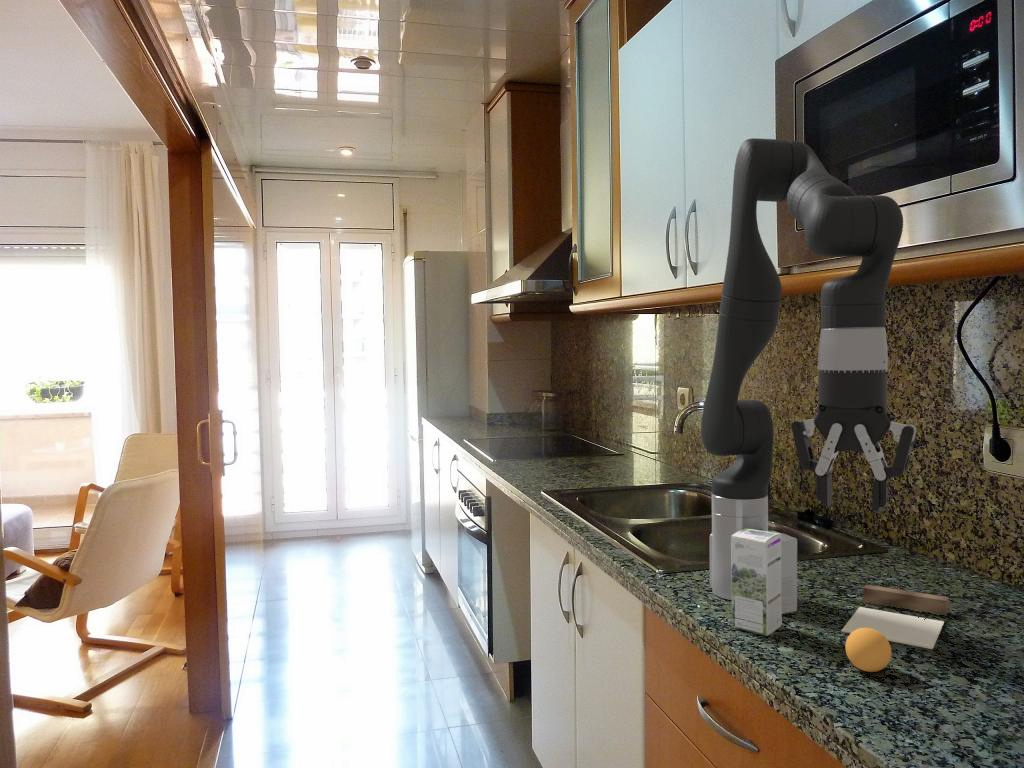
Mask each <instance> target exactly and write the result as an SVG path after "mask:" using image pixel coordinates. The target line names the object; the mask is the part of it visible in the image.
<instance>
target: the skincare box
mask: <svg viewBox="0 0 1024 768" xmlns="http://www.w3.org/2000/svg"><path fill="white" fill-rule="evenodd" d="M766 532H773V533H779V534H781V613H782V615H785V614H790V613H794V612H795V613H796V612H797V611H798V539H797V537H793V536H790V535H788V534H787V533H781V532H778V531H775V530H768V531H766Z"/></svg>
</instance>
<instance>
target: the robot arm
mask: <svg viewBox="0 0 1024 768" xmlns="http://www.w3.org/2000/svg"><path fill="white" fill-rule="evenodd" d="M733 172H734V173H733V184H732V196H731V197H732V198H731V200H732V201H731V212H730V213H731V214H730V215H731V216H730V217H731V218H730V229H729V230H730V231H729V242H728V248H727V249H728V250H727V255H726V256H727V257H726V265H725V270H724V271H725V272H724V277H723V284H722V290H721V297H720V302H719V303H720V305H719V312H718V313H719V314H718V323H717V324H718V326H717V331H716V332H717V333H716V342H715V347H714V355H713V362H712V366H711V367H712V368H711V372H710V378H709V382H708V385H707V386H708V387H707V391H706V395H705V400H704V404H703V408H702V409H703V410H702V414H701V421H700V435H701V440H702V441H701V442H702V444H703V446H704V449H705V450H706V452H708V453H709V454H710V455H712V456H718V457H720V456H721V457H723V456H724V457H726V456H727V457H728V456H729V457H730V456H735V460H734V462H733V463H732V464H731V465H730V466H729V467H728V468H726V469H725V470H722V472H719V473H717V474H716V475H714V476H713V477H712V480H711V533H710V534H709V538H708V539H709V588H711V589H712V590H711V591H712V593H713V595H715V596H717V597H719V598H721V599H725V600H729V601H730V600H731V601H732V575H731V572H732V570H731V537H732V536H731V535H733V534H735V533H736V532H738V531H740V530H743V529H753V530H760V531H769V511H768V510H769V495H768V493H769V485H770V482H771V478H772V473H773V471H772V469H773V451H774V450H773V449H774V433H775V432H774V423H773V422H774V421H773V418H772V413H771V411H770V409H769V407H768V406H767V405H766V403H764V402H763V401H760V400H758V399H743V400H739V395H740V391H741V387H742V384H743V382H744V379H745V378H746V375H747V373H748V371H749V370H750V368H751V367H752V365H753V364H754V362H755V361H756V360H757V358H758V357H759V356H760V354H761V353H762V352H763V351H764V349H765V348H766V346H767V345H768V344H769V342H770V340H771V339H772V337H773V335H774V333H775V331H776V328H777V326H778V321H779V315H780V308H781V302H782V300H781V299H782V293H783V288H782V282H781V279H780V276H779V274H778V272H777V271H778V270H777V269H776V267H775V265H774V263H773V261H772V259H771V257H770V255H769V253H768V252H767V249H766V247H765V245H764V242H763V240H762V237H761V234H760V229H759V226H758V217H757V207H758V206H757V205H758V202H774V203H775V202H776V203H786V205H787V208H788V211H789V213H790V214H791V217H793V219H794V220H795V221H796V222H797V223H798V224H800V225H801V226H802V227H803V228H804V237H805V242H806V245H807V248H808V250H809V251H810V252H812V253H813V254H815V255H817V256H820V257H823V258H856V257H857V258H858V257H859V258H860V257H861V261H860V265H859V267H858V268H857V270H856V271H855V272H854V273H853V274H850V275H846V276H841V277H837V278H832V279H829V280H828V281H826V282H824V284H823V285H822V287H821V290H820V331H819V332H820V334H819V340H818V352H817V353H818V357H817V359H818V364H817V365H818V369H817V371H818V372H817V373H818V374H817V375H818V376H817V377H818V378H817V379H818V381H817V382H818V385H817V386H818V388H817V391H818V393H817V394H818V396H817V398H818V399H817V401H818V402H817V403H818V404H817V406H818V408H817V411H816V413H815V416H814V418H811V419H802V418H801V419H798V420H795V421H792V422H791V424H790V427H791V432H792V435H793V439H794V440H793V441H794V444H795V448H796V453H797V457H798V462H799V465H800V467H801V468H802V469H803V470H808V471H809V472H810V471H811V472H812V473H814V475H815V479H816V480H815V481H816V482H815V492H816V493H815V494H816V495H815V497H816V501H819V502H821V503H820V504H821V506H822V507H830V506H831V505H832V503H833V473H830V471H831V469H832V467H833V464H834V461H835V460H836V458H837V456H838V454H839V453H840V452H842V453H843V452H849V451H851V452H854V453H860V454H861V453H862V454H863V455H864V456H865V459H866V461H867V463H869V465H870V468H871V470H872V473H873V476H874V479H873V480H872V501H871V502H872V505H871V506H872V508H871V509H872V512H874V513H875V512H876V513H880V512H882V510H883V508H885V507H887V505H888V503H889V481H890V479H892V478H895V477H901V476H903V474H905V473H906V471H907V469H908V466H909V462H910V458H911V454H912V451H913V447H914V443H915V439H916V436H917V431H918V428H917V426H916V425H915V424H913V423H909V424H905V423H901V422H897V421H893V420H892V417H890V415H889V412H888V366H889V355H888V350H889V349H888V341H887V336H886V335H887V334H886V333H887V332H886V295H887V288H888V284H889V279H890V277H891V276H890V275H891V271H892V269H893V268H892V267H893V264H894V261H895V256H896V254H897V251H898V248H899V246H900V242H901V239H902V234H903V232H904V231H903V229H904V215H903V213H902V209H901V208H900V205H899V204H898V202H897V201H896V200H895V199H894V198H892V197H890V196H887V195H880V194H879V195H857V194H856V193H855V191H854V190H853V189H852V188H851V187H850V186H849V185H847V184H846V183H844V182H843V181H841V180H839V179H838V178H837V177H835V176H833V175H831V174H830V173H828V171H827V170H826V168H825V166H824V165H823V163H822V161H821V160H820V159H819V157H818V156H817V154H816V152H815V151H814V149H812V148H811V147H810V146H809V145H808V144H806V143H805V142H803V141H799V140H793V139H780V138H779V139H778V138H776V139H775V138H756V137H755V138H747V139H745V140H744V141H743V142H742V143H741V145H740V147H739V149H738V151H737V154H736V159H735V164H734V170H733ZM814 428H816V429H817V430H818V432H819V433H820V434H821V436H822V437H823V439H824V440H825V443H824V445H823V448H822V450H821V452H820V456H819V459H818V460H817V459H816V458H815V454H814V453H815V452H814V450H813V446H812V445H813V444H812V441H811V437H812V436H813V435H814ZM889 431H891V432H892V435H893V440H894V441H895V442H896V443H898V444H897V448H896V452H895V456H894V460H893V463H892V465H888V463H887V461H886V459H885V454H884V452H883V449H882V446H881V444H880V442H881V441H882V439H883V438H884V437H885V435H886V434H887V433H888V432H889Z"/></svg>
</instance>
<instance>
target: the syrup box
mask: <svg viewBox="0 0 1024 768" xmlns="http://www.w3.org/2000/svg"><path fill="white" fill-rule="evenodd" d="M779 533H780V532H779ZM779 533H773V532H766V531H760V530H753V529H743V530H740V531H738V532H736V533H735V534H733V535H731V536H732V537H731V570H732V572H731V575H732V600H731V628H733V629H737V630H741V631H746V632H747V633H748V632H749V633H751V634H752V633H753V634H757V635H761V636H765V637H767V636H769V635H771V634H773V633H774V632H775V631H776V630H778V629H780V627H782V625H783V620H782V619H783V618H782V615H783V614H782V613H781V534H779Z"/></svg>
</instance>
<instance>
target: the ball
mask: <svg viewBox="0 0 1024 768" xmlns="http://www.w3.org/2000/svg"><path fill="white" fill-rule="evenodd" d="M845 654H846V656H847V658H848V660H849V662H850V663H851V664H852V665H853V666H854V667H856V668H857V669H859V670H860V671H863V672H867V673H873V672H874V673H875V672H880V671H881V670H883V669H885V668H886V667H887V666H888V665H889V664H890V661H891V659H892V647H891V644H890V641H888V640H887V639H886V637H885V636H884V635H883V634H882V633H880V632H879V631H877V630H875V629H872V628H859V629H856V630H855V631H853V632H852V633H851V634H850V633H849V635H848V636H847V637H846V640H845Z"/></svg>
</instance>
